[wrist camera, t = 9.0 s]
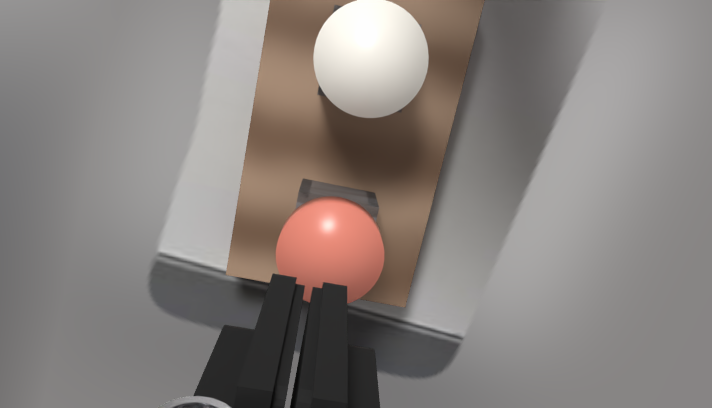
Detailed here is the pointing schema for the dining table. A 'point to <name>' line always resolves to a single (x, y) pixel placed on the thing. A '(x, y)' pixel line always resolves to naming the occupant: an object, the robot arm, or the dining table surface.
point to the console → (347, 141)
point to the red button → (331, 246)
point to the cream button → (370, 58)
